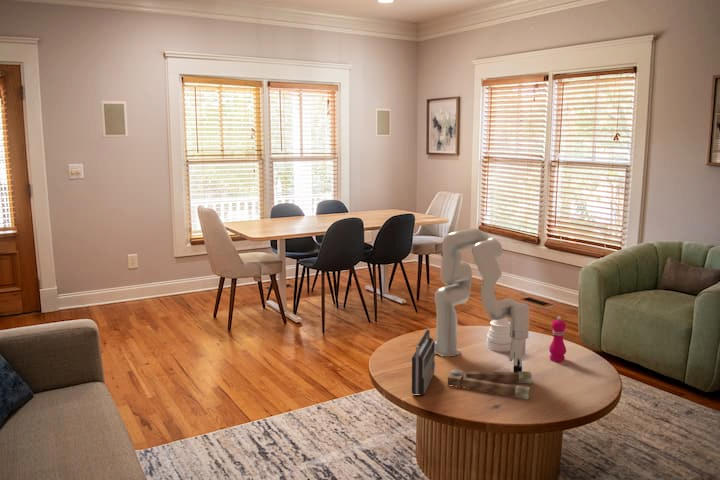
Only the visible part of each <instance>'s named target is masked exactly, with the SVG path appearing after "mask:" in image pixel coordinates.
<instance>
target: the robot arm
mask: <svg viewBox="0 0 720 480" xmlns="http://www.w3.org/2000/svg"><path fill="white" fill-rule="evenodd" d="M468 249H471V253H472V257H473V259H474V262H475V265H476V267H477V269H478V272H479V275H480V276H481V279H482V280H481V281H482V282H481V288H480V298H481V303H482V306H483V308H484V311H485V312H486V314H487V316H488V317H489V318H490V319H491V320H492V321H493V320H500V319H503V318H507V319H508V318H509V322H510V335H509V336H510V337H511V345H510V351H509V359H508V361H509V362H513V368H512V369H513V370H512V372H518V371H522V372H523V360H524V359H525V356H526V345H527V343H526V342H527V341H526V340H527V339H529V331H530V330H529V329H530V328H529V327H530V306H529V305H528V304H527V303H524V302H518V301H517V300H514V299H512V298H505V299H500V300H497V298H496V294H495V286H496V283H497V282H498V280H499V279H500V278H501V277H502V274H503V273H502V270H501V267H500V265H499V263H498V261H497V258H500V257H502V254H503V247H502V244H501V243H500V241H499V240H498V239H495V237H493V236H492V235H490V234H488V233H486V232H485V231H483V230H480V229H479V228H469V229H461V230H455V231H452V232H449V233H447V234H445V236H444V237H443V239H442V257H441V265H440V275H439V276H440V277H439V278H440V281H441V283H442V284H444V285H445V286H441V287H440V288H438V289H437V290H436V291H435V293H434V303H435V308H436V309H435V310H436V312H435V313H436V331H435V332H436V336H435V337H436V339H435V353H437V354H439V355H443V356H453V357H457V356H459V355H460V353H461V349H460V348H458V313H457V310H456V309H455V306H458V305H461V304H464V303H467V301H468V300H469V299H470V296H471V295H470V294H471V290H472V289H471V288H472V279H473V271H472V267H471V265H470V264H469V263H468V262H466V261H462V252H461V250H468ZM456 355H457V356H456Z"/></svg>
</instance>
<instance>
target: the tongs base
mask: <svg viewBox="0 0 720 480" xmlns="http://www.w3.org/2000/svg"><path fill="white" fill-rule="evenodd" d="M448 385H453V386H457V387H456V388H459V387H460V386H461V387H465V388H464V389H467V388H469V390H473V389H474V391H480V392H485V393H490V394H497V395H500V396H501V395H502V396H507V397H513V398H516V399H524V400H529V399H530V395H531V394H530V393H531V387H530V386H525V385H519V384H518V385H515V384H514V385H513V384H509V383H508V384H507V383H506V384H505V383H499V382H490V381H484V380H478V379H472V378H466V376H465V375H464V371H463V370H461V369H451V370H450V374H449V376H447V386H448ZM453 386H452V387H453ZM461 387H460V388H461Z"/></svg>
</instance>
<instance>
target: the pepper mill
mask: <svg viewBox="0 0 720 480" xmlns="http://www.w3.org/2000/svg"><path fill="white" fill-rule="evenodd" d="M551 328H552V334H553V339H552V341H551V343H550V346H549V349H548V351H549V353H550V355H549V360H551V361H552V362H557V363H562V362H565V354H566V353H567V348H566V346H565V342H564V335H565V330H566V328H567V324H566V322H565V321H564V320H562V317H561V316H558V317H556V319H555V320H553V322H552V323H551Z"/></svg>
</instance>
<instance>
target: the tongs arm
mask: <svg viewBox="0 0 720 480" xmlns="http://www.w3.org/2000/svg"><path fill="white" fill-rule="evenodd" d="M532 376H533V375H532V372H531V371H523V370H522V371H518V372H513V371H511V372H510V371H470V370H469V371H467V370H466V374H465V377H466V378H472V379H478V380H484V381H490V382H496V383H502V384H505V383H506V384H507V383H508V384H509V383H511V384H512V383H513V384H532V379H533V378H532Z"/></svg>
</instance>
